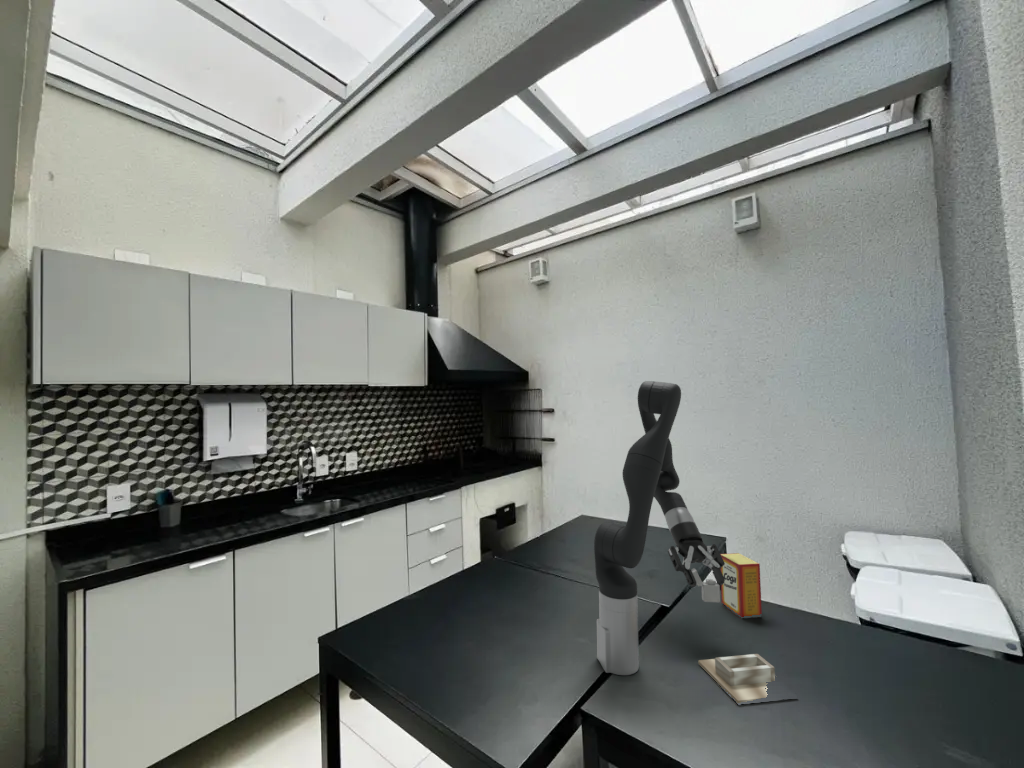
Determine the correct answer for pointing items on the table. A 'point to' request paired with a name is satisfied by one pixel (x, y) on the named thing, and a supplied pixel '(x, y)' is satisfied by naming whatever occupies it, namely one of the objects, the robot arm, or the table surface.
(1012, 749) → the table surface
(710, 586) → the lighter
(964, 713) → the table surface
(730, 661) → the holder
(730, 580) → the baking soda box
